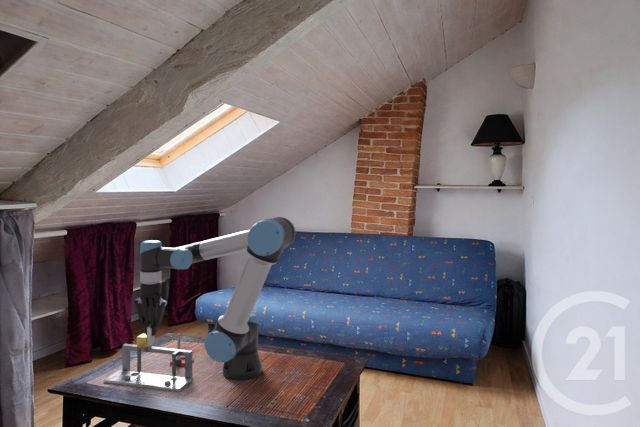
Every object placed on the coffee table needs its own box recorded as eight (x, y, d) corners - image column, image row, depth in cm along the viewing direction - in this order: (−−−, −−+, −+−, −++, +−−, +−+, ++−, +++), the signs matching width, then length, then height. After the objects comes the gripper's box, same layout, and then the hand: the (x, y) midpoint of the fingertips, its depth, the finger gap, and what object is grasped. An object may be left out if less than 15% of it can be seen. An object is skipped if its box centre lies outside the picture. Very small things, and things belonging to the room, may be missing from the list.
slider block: (152, 368, 179) (152, 334, 178) (143, 374, 173) (143, 339, 172) (142, 367, 180) (142, 333, 179) (133, 373, 174) (133, 338, 173)
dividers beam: (192, 377, 175) (192, 350, 174) (185, 383, 170) (185, 355, 169) (125, 370, 180) (125, 343, 179) (117, 375, 175) (117, 348, 175)
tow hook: (177, 358, 195) (167, 365, 186) (178, 327, 194) (168, 333, 185) (196, 359, 193) (187, 367, 184) (197, 328, 193) (188, 335, 184)
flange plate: (191, 381, 172) (191, 376, 172) (179, 391, 163) (179, 386, 163) (119, 372, 178) (119, 367, 178) (103, 382, 169) (103, 377, 169)
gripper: (172, 281, 177) (171, 341, 178) (141, 278, 179) (141, 338, 181) (161, 285, 169) (161, 348, 171) (129, 282, 172) (129, 345, 174)
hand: (150, 343), depth 176 cm, fingers closed
